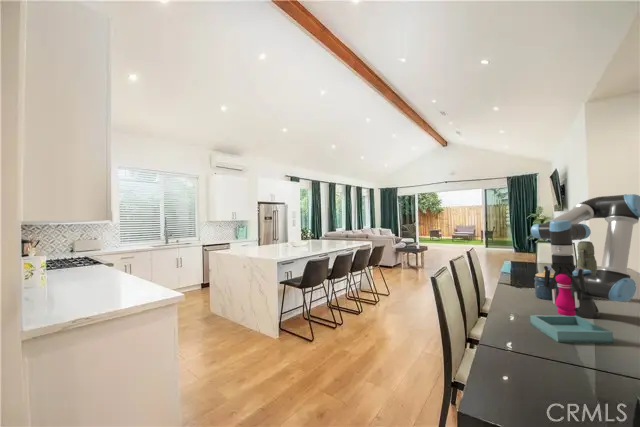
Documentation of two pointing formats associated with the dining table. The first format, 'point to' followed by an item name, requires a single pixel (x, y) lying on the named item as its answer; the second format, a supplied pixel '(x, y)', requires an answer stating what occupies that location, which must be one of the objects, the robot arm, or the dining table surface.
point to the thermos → (586, 257)
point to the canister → (541, 289)
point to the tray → (571, 329)
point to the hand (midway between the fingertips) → (565, 304)
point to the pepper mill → (565, 296)
